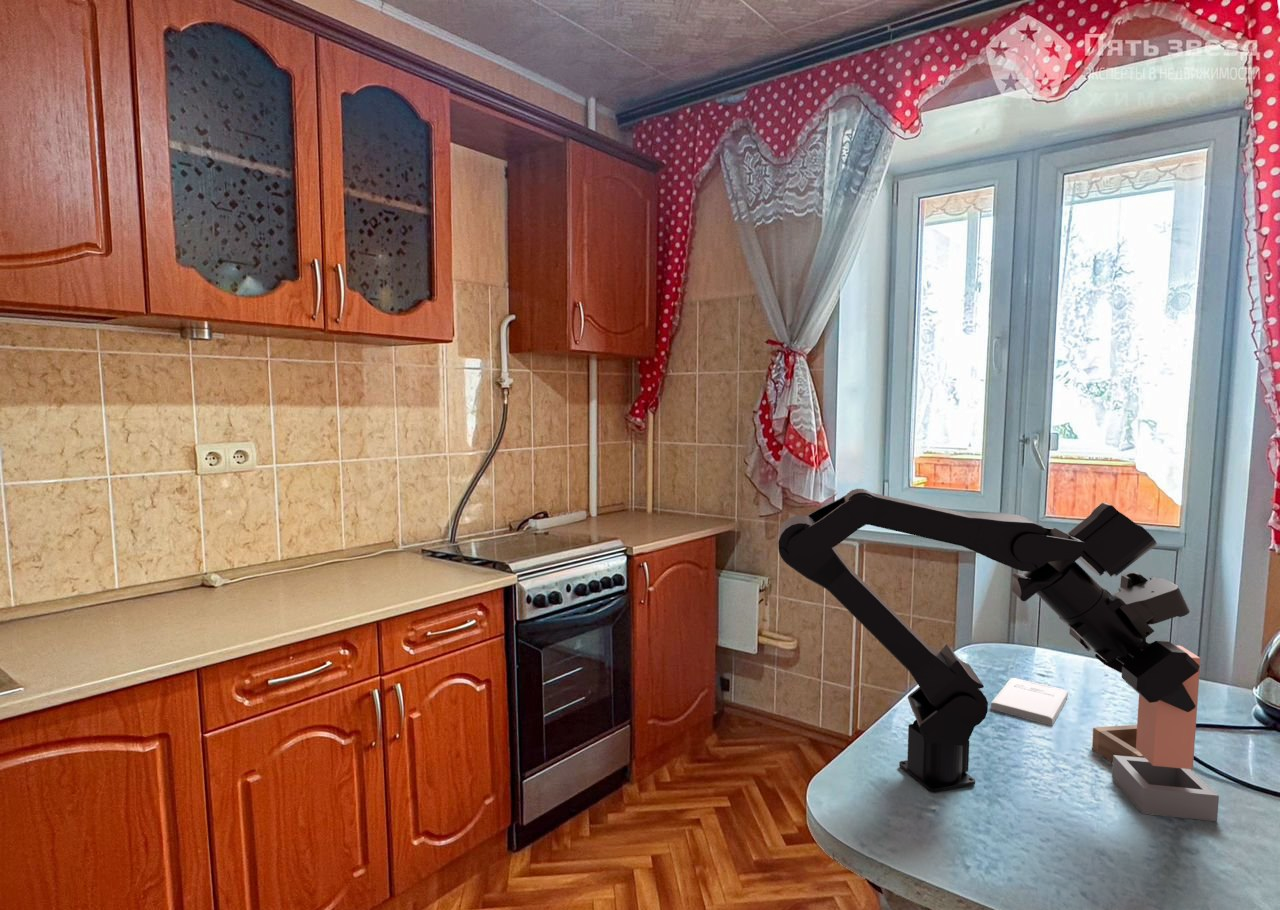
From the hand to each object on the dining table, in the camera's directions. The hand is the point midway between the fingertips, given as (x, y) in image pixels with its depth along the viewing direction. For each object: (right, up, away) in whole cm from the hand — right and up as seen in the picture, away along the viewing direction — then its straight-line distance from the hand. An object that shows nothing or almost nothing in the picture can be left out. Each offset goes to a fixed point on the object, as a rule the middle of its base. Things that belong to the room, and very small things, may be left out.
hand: (1180, 700), depth 80 cm
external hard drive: (-2, -10, +27) cm, 29 cm away
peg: (-1, -7, +1) cm, 7 cm away
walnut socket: (+2, -11, +9) cm, 15 cm away
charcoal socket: (-1, -12, +1) cm, 12 cm away
